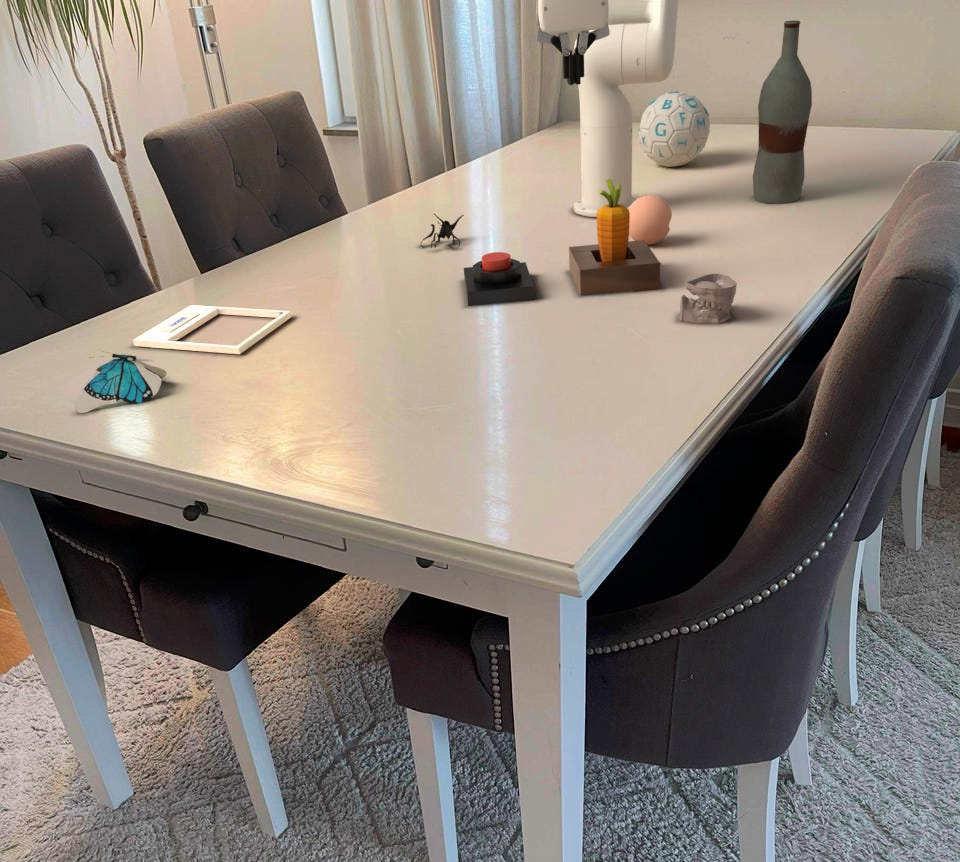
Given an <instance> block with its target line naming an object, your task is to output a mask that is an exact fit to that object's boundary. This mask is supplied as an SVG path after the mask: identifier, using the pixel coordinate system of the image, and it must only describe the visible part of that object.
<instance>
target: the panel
mask: <svg viewBox="0 0 960 862" xmlns="http://www.w3.org/2000/svg"><path fill="white" fill-rule="evenodd" d="M520 261H521V260H518V259H515V258H511V267H510V268H507V269H504V270H495V271H491V270H484V269H482V260H480V261H477V262H476V263H474V264H473V265H472V266H467V267H463V279H464V287H465V293H466V294H465V295H466V300H467V301H466V302H467V306H468V307H474V306H484V305H485V306H486V305H495V304H506V303H507V304H508V303H517V302H529V301H535V289H534V288H535V286H534V283H533V280H532V277H531V274H530V271H529V267H528V265H527V262H526V261H525V262H520Z"/></svg>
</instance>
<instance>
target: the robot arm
mask: <svg viewBox="0 0 960 862" xmlns="http://www.w3.org/2000/svg"><path fill="white" fill-rule="evenodd" d="M535 3H536V4H535V5H536V7H535V9H536V11H535V13H536V24H537V31H536V36H535V38H536V41H537V42H538V43H541V44H546V45H553V47H555V48H556V49H557V51H559V52H560V54H561V55H562V77H563V79H564V80H566V82H567V84H568V86H574V85H577V88H578V97H579V98H578V99H579V127H580V128H579V129H580V131H579V132H580V179H581V180H580V185H581V192H580V193H581V195H580V196H581V198H580V199H579V200H576V201H575V202H574V204H573V212H574V213H575V214H577V215H579V216H583V217H588V218H597V211H598V210H599V209H600V208H601V207H603V206H605V205H608V204H609V202H608V200H607V199H606V198H605V197H604V196H603V195H601V194H600V193H599V191H601V190H603V191H606V192H607V193H608V194H609V193H610V190H609V188H608V185H607V182H606V180H608V179H611V180H612V183H613V186H614V189H616V187H617V184H620V185H621V194H620V198H619V201H618V204H622V205H624V206H625V207H626V208H627V209H628V208H629V207H630V205H631V204H632V203H633V202H634V201H635V200H637V199H638V198H636V197H633V196H632V193H633V187H632V186H633V109H632V106H631V105H632V104H630V101H629V99H628V98H627V96H626V95H625V94H624V93H623V91H622V90H621V88H620V87H619V86H623V85H633V84H634V85H635V84H655V83H661V82H663V81H665V80H667V79H668V78H669V76H670V75H671V74H672V70H673V66H674V59H675V49H676V37H677V36H676V34H677V23H678V21H677V20H678V7H679V0H536V2H535ZM576 32H577V35H576V39H575V42H574V44H573V45H574V46H573V50H572V49H571V46H570V39H569V33H576ZM555 34H557V35H555Z"/></svg>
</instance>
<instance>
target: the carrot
mask: <svg viewBox="0 0 960 862" xmlns="http://www.w3.org/2000/svg"><path fill="white" fill-rule="evenodd" d="M606 182H607V185H608V188H609V190H610V193H609V194H608V193H607V192H606V191H603V190H601V191H599V193H600V194H601V195H603V196H604V197H605V198H606V199H607V200H608V202H609V204H608V205H605V206H603V207H601V208H600V209H599V210H598V211H597V217H596V233H597V244H599V250H600V255H601V259H602V262H606V261H617V260H625V256H626V252H627V246H628V242H629V240H630V239H629V238H630V236H629V224H630V212H629V210H628V209H627V208H626V207H625V206H624V205H622V204H618V201H619V198H620V194H621V185H620V184H617V187H616V189H614V186H613V183H612V180H611V179H608V180H606Z"/></svg>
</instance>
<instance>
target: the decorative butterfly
mask: <svg viewBox="0 0 960 862" xmlns="http://www.w3.org/2000/svg"><path fill="white" fill-rule="evenodd" d="M99 351H100V352H104V353H105V351H103V350H101V349H99ZM106 353H108V354H109V352H108V351H106ZM102 357H104V355H103V356H100V358H102ZM111 357H112V358H113V359H111V360H109V361H108V362H106V363H104V364H102V365H100V366H99V367H97V368H96V369H95V371H94V372H93V374H92V377H93V378H92V379H90V380H89V382H88V383H87V384H86V385H85V386H84V388H83V389H82V390H81V392H80V393H79V395H78V396H77V398H76V400H75V402H74V409H75V410H76V412H78V413H80V414H84V413H88V412H90V411H92V410H95V409H97V408H99V407H101V406H105V405H114V404H117V403H118V402H120V400H121V401H123V402H125V403H129V404H140V403H145V402H148V401H150V400H152V398H154V397H155V396H156V395H157V394H158V392H159V391H160V388H161V386H162V379H164V378H165V377H166V376H167V374H168V373H167V371H166V370H165V369H164V368H161V367H157V366H154V365H151V364H147V363H146V362H155V360H154V359H149V358H145V357H141V356H137V355H130V354H117V353H111ZM92 358H94V356H91V357H90V359H92Z"/></svg>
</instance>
